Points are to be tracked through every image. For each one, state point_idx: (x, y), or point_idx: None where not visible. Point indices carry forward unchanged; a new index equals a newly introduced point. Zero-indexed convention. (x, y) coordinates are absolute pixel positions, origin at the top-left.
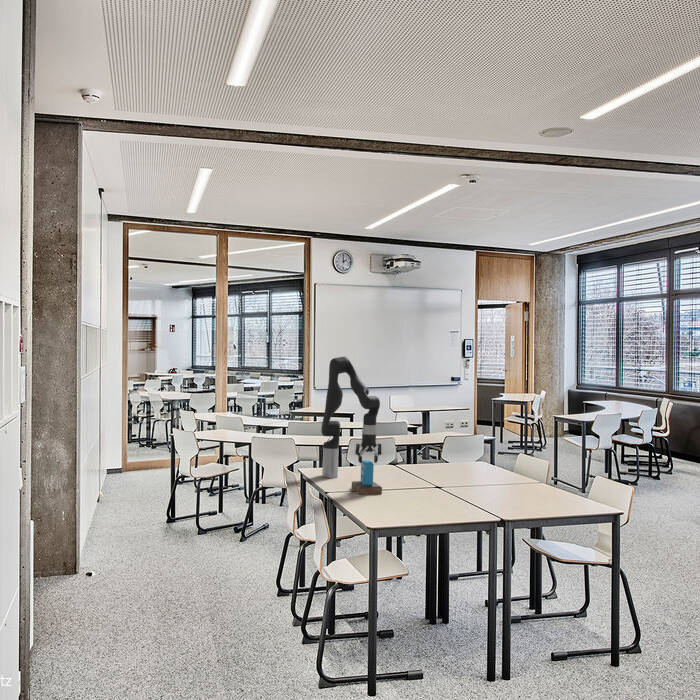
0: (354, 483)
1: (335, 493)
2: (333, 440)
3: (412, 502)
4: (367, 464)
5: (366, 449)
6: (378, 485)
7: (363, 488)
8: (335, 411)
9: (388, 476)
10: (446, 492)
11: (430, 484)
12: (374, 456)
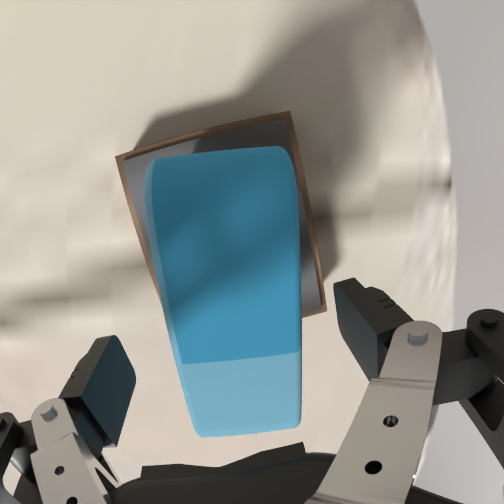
0: (317, 265)
1: (423, 154)
2: None
3: (14, 7)
4: (254, 164)
5: (334, 483)
6: (137, 191)
7: (267, 115)
8: None
9: None
10: None
11: None
12: (113, 428)
